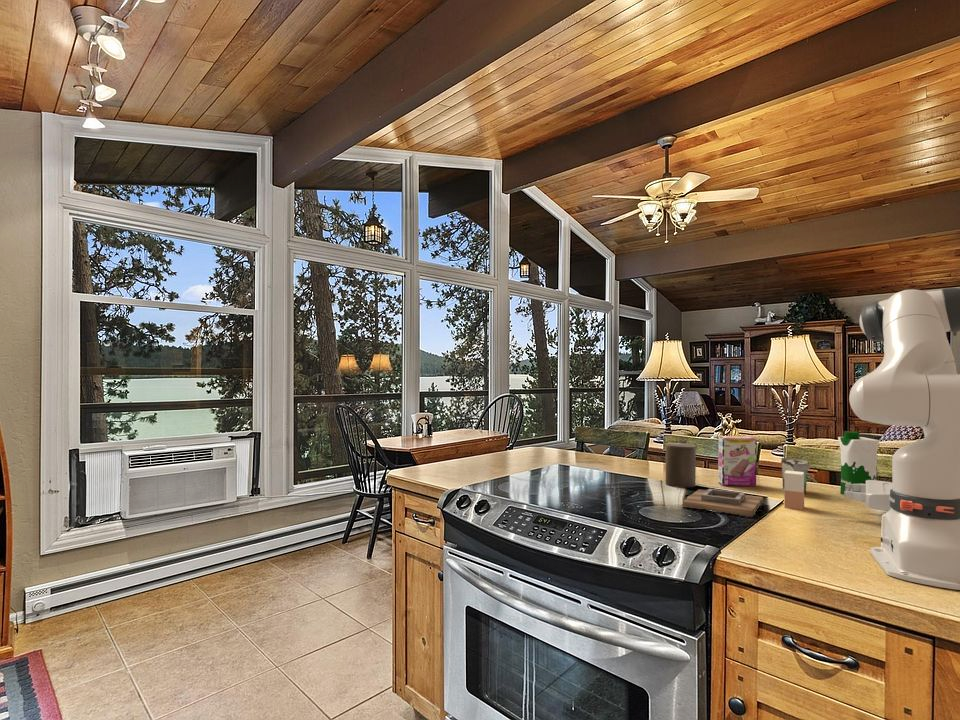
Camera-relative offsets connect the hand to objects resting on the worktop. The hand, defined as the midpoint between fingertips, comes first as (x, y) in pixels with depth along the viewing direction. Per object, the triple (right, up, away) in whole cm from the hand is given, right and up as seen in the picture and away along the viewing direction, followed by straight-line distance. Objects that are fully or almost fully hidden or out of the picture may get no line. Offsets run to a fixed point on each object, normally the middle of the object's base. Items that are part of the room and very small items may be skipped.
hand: (844, 490), depth 149 cm
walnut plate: (-30, -7, +8) cm, 31 cm away
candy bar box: (-13, -7, +36) cm, 38 cm away
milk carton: (+17, -7, +19) cm, 27 cm away
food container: (+2, -7, +25) cm, 26 cm away
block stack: (-10, -6, +7) cm, 14 cm away
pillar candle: (-31, -7, +37) cm, 49 cm away
